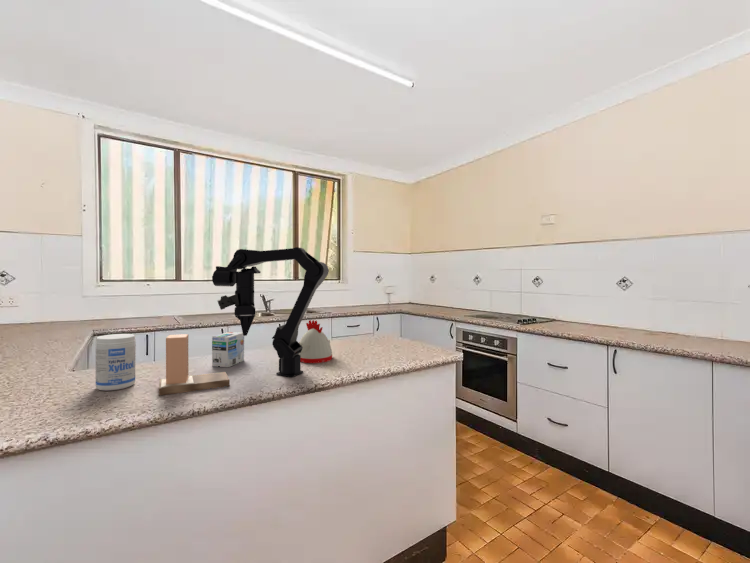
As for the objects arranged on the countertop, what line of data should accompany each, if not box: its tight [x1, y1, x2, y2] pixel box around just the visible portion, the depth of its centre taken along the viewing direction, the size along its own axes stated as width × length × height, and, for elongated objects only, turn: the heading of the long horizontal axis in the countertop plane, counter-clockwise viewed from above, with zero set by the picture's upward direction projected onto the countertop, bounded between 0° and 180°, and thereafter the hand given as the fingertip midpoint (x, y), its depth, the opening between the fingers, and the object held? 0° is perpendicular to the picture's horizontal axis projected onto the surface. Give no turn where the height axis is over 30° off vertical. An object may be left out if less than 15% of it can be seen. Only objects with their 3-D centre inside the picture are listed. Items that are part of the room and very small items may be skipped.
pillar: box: [165, 333, 190, 384], centre depth 106 cm, size 5×5×13 cm
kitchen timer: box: [298, 319, 333, 364], centre depth 143 cm, size 14×14×15 cm
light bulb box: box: [211, 331, 245, 368], centre depth 134 cm, size 11×7×11 cm, turn 168°
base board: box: [158, 371, 231, 396], centre depth 108 cm, size 18×9×2 cm, turn 119°
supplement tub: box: [95, 333, 137, 391], centre depth 107 cm, size 10×10×15 cm
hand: (245, 333), depth 124 cm, fingers open, 9 cm apart
